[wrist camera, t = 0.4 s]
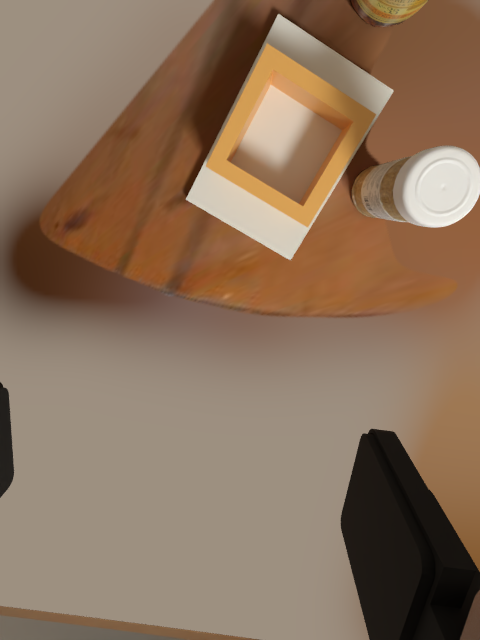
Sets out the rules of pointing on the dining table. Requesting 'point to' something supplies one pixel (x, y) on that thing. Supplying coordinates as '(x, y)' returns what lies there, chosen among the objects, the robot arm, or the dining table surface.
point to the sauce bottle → (386, 11)
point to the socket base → (287, 138)
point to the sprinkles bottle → (420, 188)
